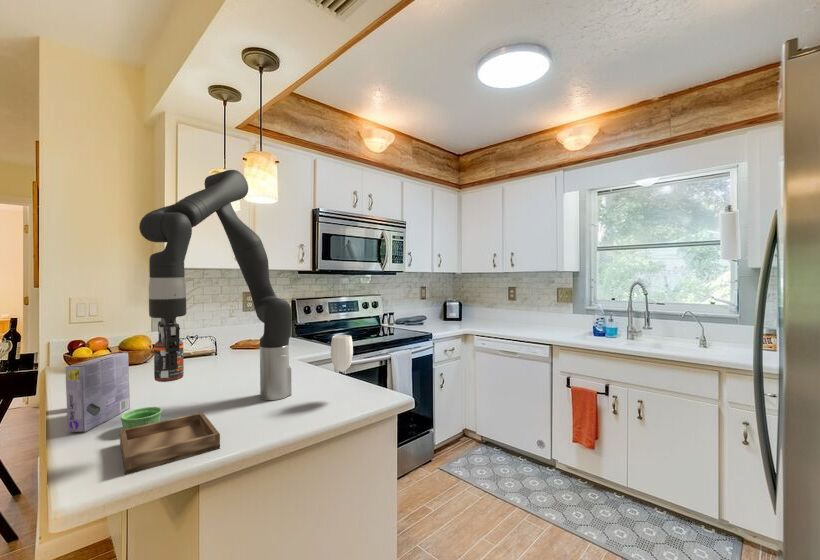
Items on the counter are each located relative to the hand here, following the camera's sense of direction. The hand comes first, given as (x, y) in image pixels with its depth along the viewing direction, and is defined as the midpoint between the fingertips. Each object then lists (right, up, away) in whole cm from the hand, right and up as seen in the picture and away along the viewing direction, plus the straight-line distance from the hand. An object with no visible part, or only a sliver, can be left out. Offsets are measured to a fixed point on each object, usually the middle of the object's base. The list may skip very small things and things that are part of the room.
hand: (169, 366), depth 90 cm
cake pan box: (-30, -19, +17) cm, 40 cm away
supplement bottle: (0, -3, 0) cm, 3 cm away
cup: (+35, -19, +34) cm, 53 cm away
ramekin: (-14, -19, +11) cm, 26 cm away
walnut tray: (0, -19, 0) cm, 19 cm away
